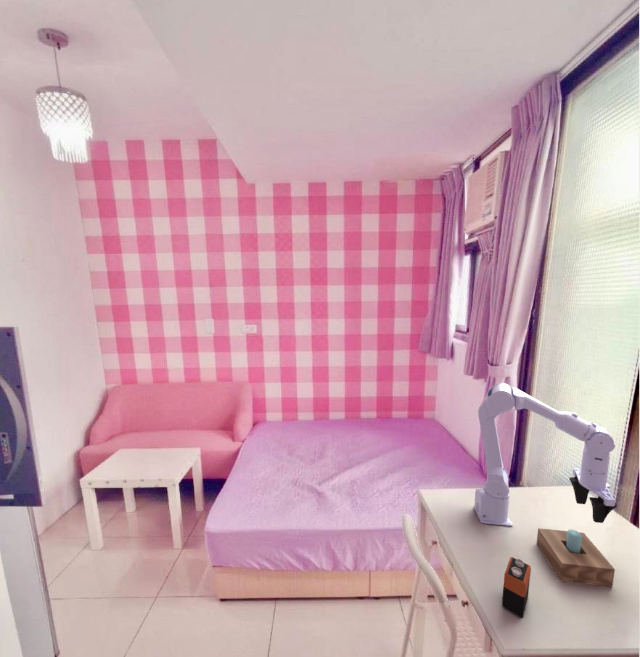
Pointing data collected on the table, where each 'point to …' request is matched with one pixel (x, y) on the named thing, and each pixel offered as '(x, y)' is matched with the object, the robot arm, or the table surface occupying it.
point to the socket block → (575, 559)
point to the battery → (516, 586)
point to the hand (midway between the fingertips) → (589, 512)
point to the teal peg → (573, 541)
